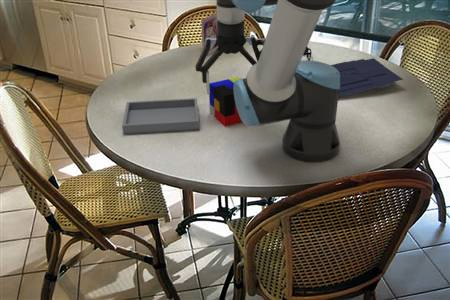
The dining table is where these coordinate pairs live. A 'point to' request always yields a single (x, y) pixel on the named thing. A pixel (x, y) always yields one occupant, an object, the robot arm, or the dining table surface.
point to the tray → (161, 116)
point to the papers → (363, 76)
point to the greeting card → (209, 31)
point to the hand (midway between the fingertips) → (231, 91)
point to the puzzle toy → (224, 102)
